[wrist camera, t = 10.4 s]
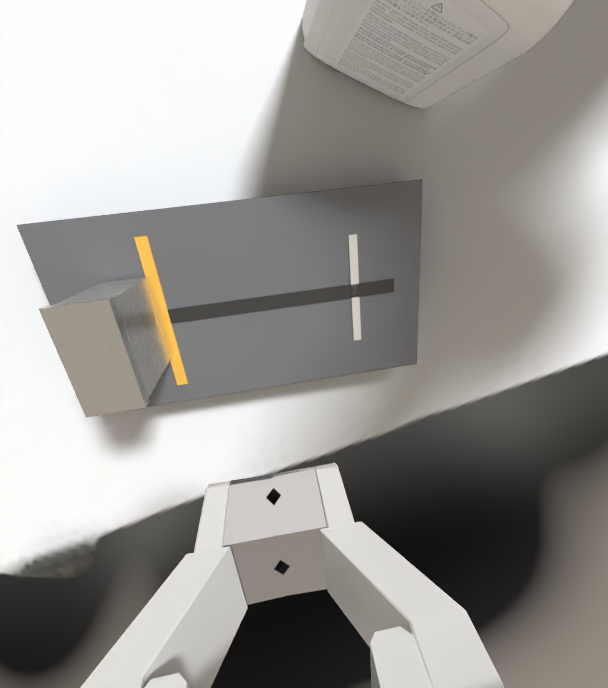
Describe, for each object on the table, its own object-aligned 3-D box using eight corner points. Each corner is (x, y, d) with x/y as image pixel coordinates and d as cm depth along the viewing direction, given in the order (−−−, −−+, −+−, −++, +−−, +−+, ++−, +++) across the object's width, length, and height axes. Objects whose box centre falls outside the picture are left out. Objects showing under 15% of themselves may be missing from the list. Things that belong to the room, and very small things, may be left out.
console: (404, 182, 25) (423, 179, 22) (402, 349, 31) (417, 364, 28) (45, 223, 23) (15, 225, 20) (111, 394, 28) (95, 415, 26)
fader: (149, 274, 22) (108, 299, 16) (173, 358, 24) (146, 407, 18) (99, 281, 22) (38, 309, 16) (128, 365, 24) (86, 417, 18)
